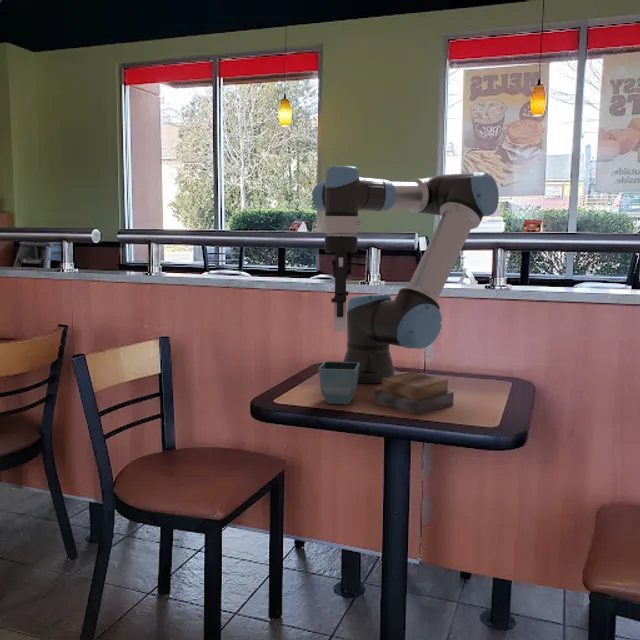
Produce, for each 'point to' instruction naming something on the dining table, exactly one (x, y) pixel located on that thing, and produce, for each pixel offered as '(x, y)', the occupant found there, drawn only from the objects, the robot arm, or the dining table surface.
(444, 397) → the tier stand
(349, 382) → the flower pot
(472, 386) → the dining table surface
